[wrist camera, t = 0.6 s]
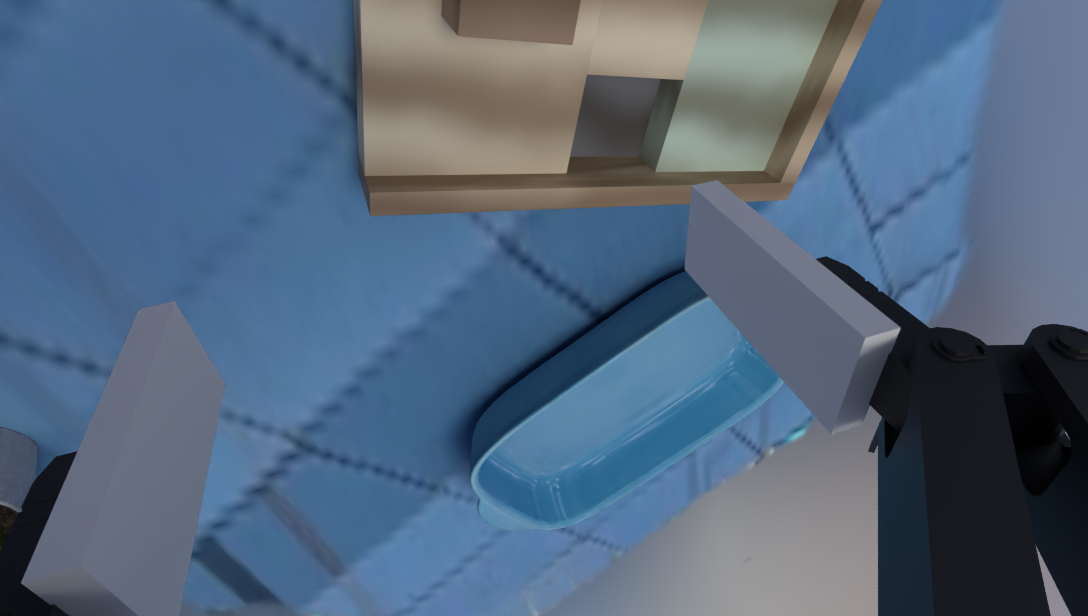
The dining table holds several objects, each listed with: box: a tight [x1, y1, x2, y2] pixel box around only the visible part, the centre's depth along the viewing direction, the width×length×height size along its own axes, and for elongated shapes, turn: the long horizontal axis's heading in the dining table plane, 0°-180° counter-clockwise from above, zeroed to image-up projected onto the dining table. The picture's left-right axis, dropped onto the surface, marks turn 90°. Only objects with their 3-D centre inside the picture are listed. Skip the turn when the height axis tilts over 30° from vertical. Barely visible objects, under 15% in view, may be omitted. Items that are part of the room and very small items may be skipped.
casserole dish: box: [470, 271, 784, 530], centre depth 58 cm, size 37×22×7 cm, turn 120°
